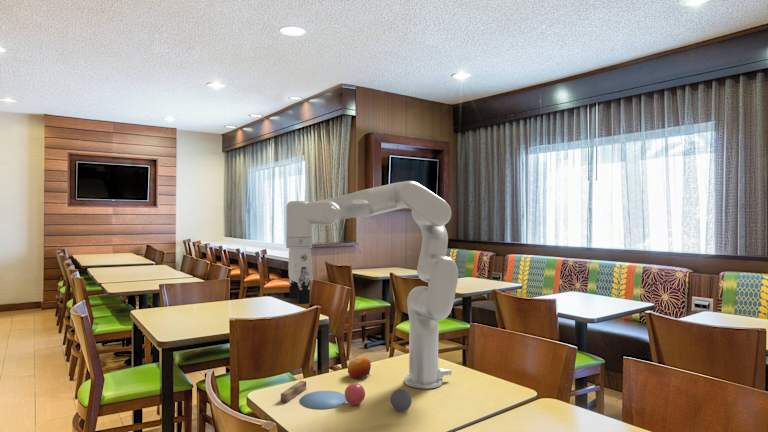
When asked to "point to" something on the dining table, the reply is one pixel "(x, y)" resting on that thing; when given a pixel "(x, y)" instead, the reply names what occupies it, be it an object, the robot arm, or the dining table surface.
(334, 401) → the blue flat disc
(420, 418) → the dining table surface
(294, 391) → the wall
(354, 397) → the object ball
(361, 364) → the fruit
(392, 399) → the grey ball
